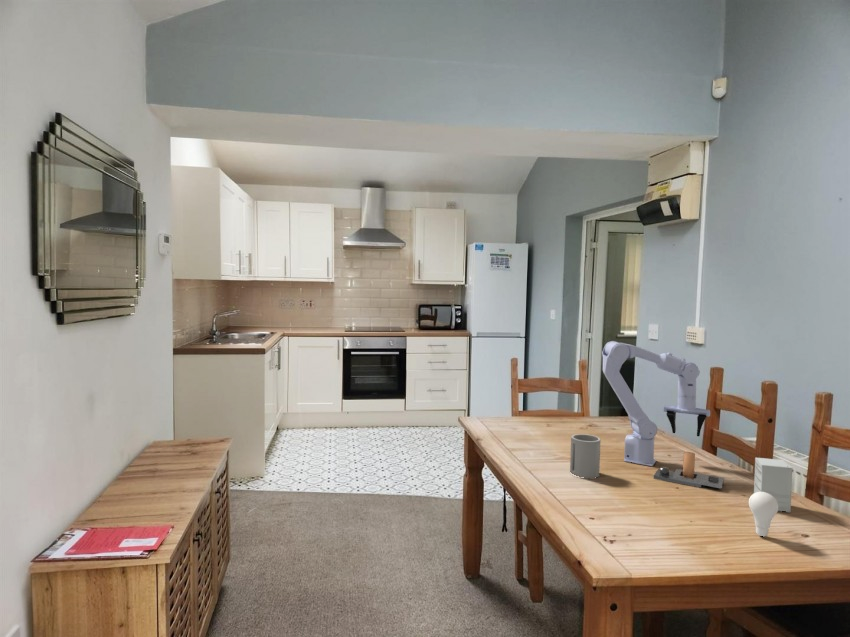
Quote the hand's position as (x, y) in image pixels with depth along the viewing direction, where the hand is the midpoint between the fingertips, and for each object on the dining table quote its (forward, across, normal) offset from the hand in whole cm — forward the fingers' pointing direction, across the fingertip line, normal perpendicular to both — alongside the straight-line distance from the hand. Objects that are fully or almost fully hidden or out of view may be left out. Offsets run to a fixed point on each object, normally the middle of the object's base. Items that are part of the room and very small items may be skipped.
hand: (686, 434), depth 183 cm
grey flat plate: (+10, +3, -19) cm, 22 cm away
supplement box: (+11, +25, -27) cm, 39 cm away
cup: (+10, -26, -32) cm, 43 cm away
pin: (+10, +3, -19) cm, 22 cm away
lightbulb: (+10, +23, -51) cm, 57 cm away
